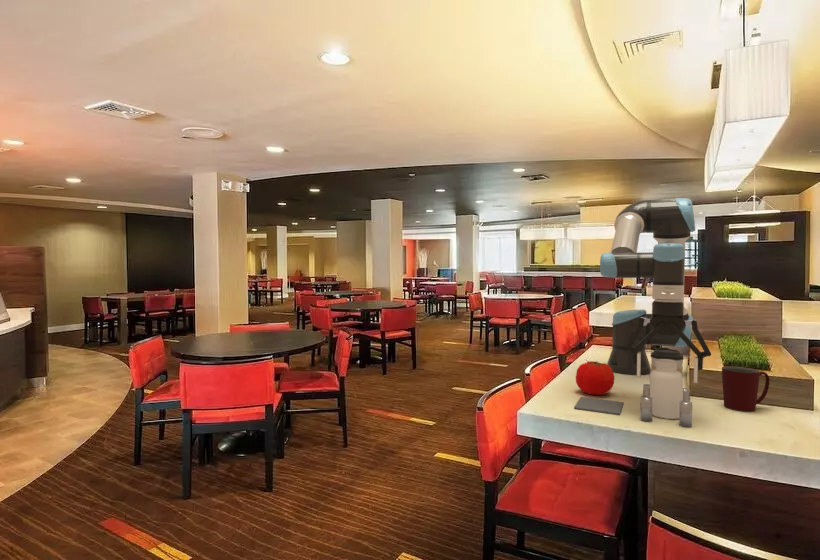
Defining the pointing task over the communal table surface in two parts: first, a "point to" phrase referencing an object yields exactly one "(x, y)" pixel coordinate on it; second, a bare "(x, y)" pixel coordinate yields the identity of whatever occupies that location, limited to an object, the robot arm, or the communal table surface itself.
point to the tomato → (595, 378)
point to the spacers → (684, 409)
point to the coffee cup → (667, 357)
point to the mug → (742, 387)
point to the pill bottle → (666, 389)
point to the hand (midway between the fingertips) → (666, 379)
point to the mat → (599, 405)
